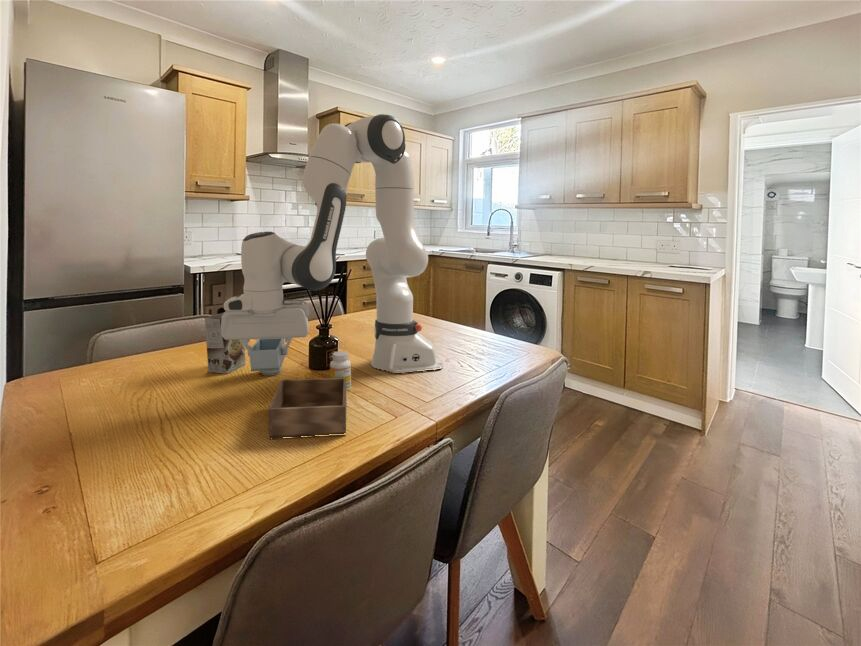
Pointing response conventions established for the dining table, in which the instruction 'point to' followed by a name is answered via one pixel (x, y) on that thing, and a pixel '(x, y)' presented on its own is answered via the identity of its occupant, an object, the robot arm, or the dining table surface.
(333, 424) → the large crate
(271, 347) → the small crate
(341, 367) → the supplement bottle
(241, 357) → the coffee box
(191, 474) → the dining table surface
